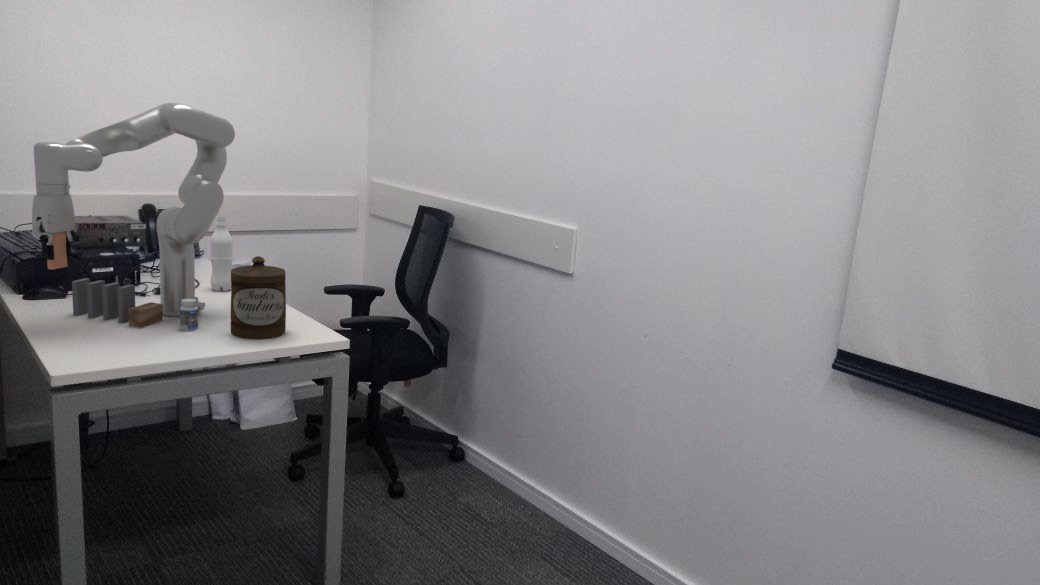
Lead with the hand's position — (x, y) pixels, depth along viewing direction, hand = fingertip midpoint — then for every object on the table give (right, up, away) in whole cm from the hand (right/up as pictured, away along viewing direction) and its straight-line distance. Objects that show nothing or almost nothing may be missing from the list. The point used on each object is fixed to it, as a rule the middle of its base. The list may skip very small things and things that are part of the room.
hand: (57, 256), depth 209 cm
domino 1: (0, -3, +1) cm, 3 cm away
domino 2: (-2, -16, +16) cm, 23 cm away
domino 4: (+7, -17, +14) cm, 23 cm away
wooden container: (+50, -21, +12) cm, 56 cm away
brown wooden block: (+18, -18, +12) cm, 29 cm away
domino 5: (+12, -18, +13) cm, 25 cm away
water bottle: (+22, -9, +57) cm, 62 cm away
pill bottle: (+31, -20, +10) cm, 39 cm away
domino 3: (+3, -16, +15) cm, 22 cm away
